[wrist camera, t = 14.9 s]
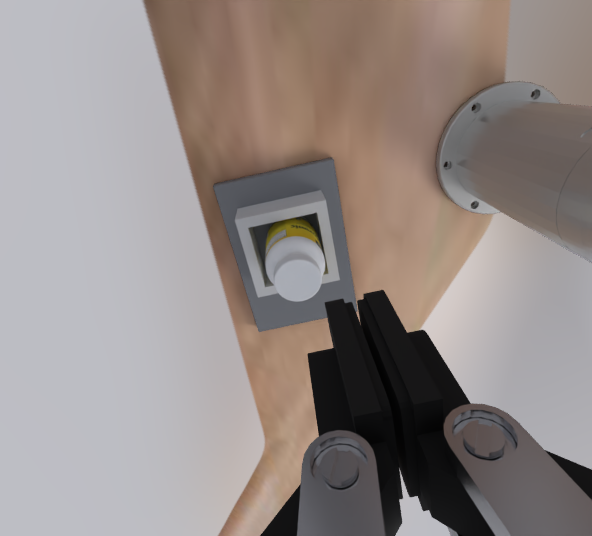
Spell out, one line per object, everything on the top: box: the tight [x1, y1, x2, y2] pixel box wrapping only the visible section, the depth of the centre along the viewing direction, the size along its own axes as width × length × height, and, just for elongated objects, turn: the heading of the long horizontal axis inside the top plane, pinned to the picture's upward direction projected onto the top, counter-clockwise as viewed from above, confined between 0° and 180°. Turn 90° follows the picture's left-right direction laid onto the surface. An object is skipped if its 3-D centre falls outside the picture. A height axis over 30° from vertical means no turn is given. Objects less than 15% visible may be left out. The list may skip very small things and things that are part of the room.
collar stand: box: [213, 157, 357, 332], centre depth 39 cm, size 12×18×4 cm, turn 12°
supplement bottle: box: [265, 216, 325, 302], centre depth 35 cm, size 5×5×10 cm
